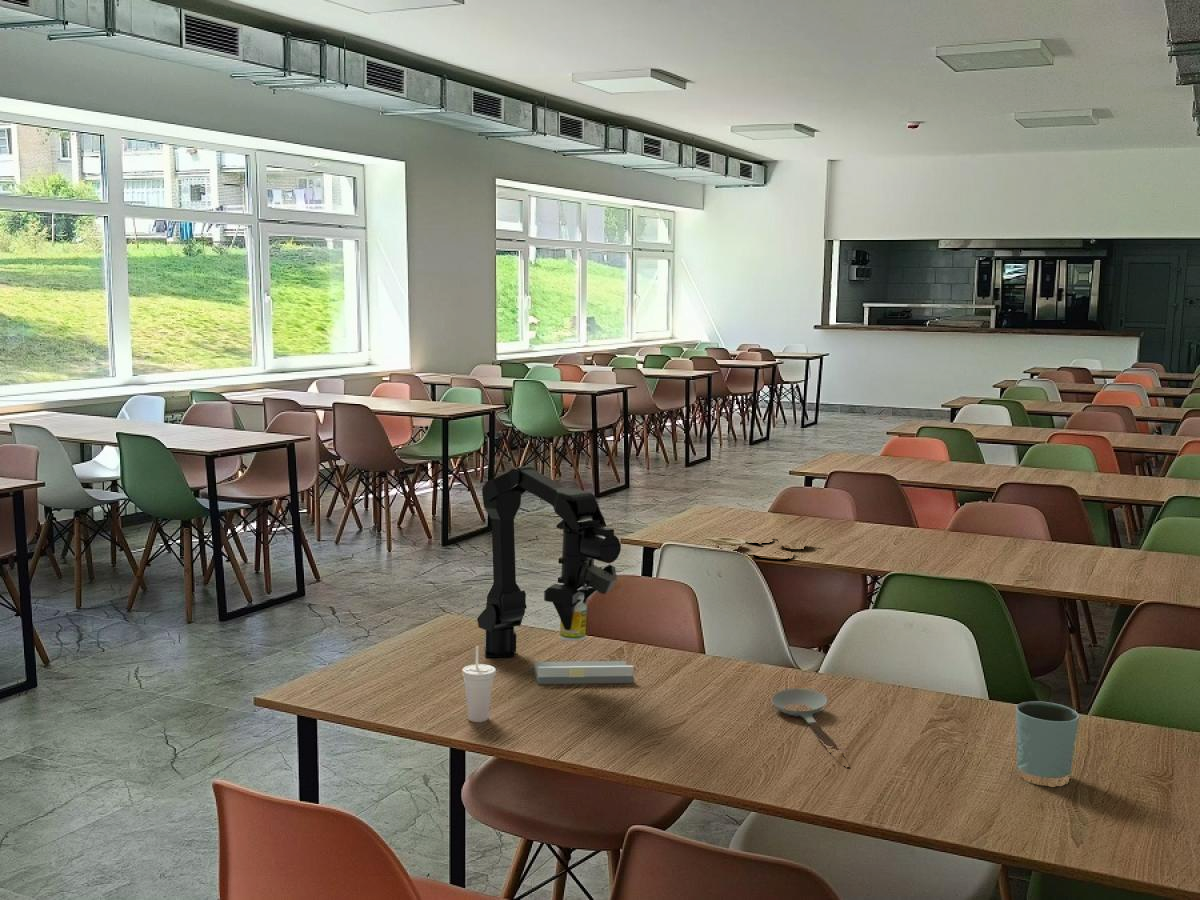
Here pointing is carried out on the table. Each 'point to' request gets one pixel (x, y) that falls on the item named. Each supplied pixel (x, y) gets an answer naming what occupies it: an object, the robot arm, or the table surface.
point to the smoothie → (478, 689)
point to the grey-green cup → (1045, 738)
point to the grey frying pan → (809, 700)
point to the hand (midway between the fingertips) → (572, 626)
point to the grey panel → (583, 672)
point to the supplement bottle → (576, 623)
